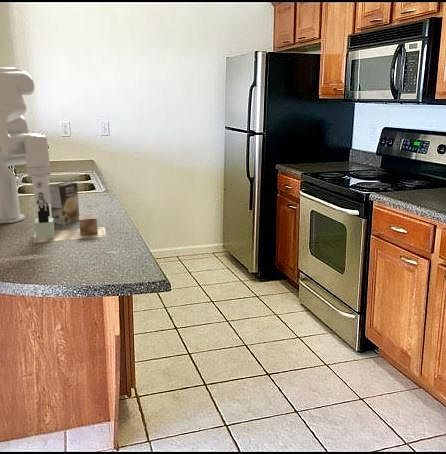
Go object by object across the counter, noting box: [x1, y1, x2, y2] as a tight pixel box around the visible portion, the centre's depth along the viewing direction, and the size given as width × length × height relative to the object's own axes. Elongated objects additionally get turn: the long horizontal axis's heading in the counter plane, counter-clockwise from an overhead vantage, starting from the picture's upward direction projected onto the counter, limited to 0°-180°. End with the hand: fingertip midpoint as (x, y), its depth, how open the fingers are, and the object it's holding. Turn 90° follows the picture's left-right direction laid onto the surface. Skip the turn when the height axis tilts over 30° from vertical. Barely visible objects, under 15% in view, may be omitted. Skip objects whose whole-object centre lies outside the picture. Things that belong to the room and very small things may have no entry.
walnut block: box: [78, 214, 98, 236], centre depth 182 cm, size 6×6×6 cm
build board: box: [32, 226, 107, 244], centre depth 181 cm, size 25×13×1 cm, turn 107°
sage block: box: [34, 217, 56, 240], centre depth 178 cm, size 6×6×6 cm
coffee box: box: [49, 181, 81, 225], centre depth 198 cm, size 9×6×16 cm
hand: (44, 219), depth 176 cm, fingers open, 9 cm apart
